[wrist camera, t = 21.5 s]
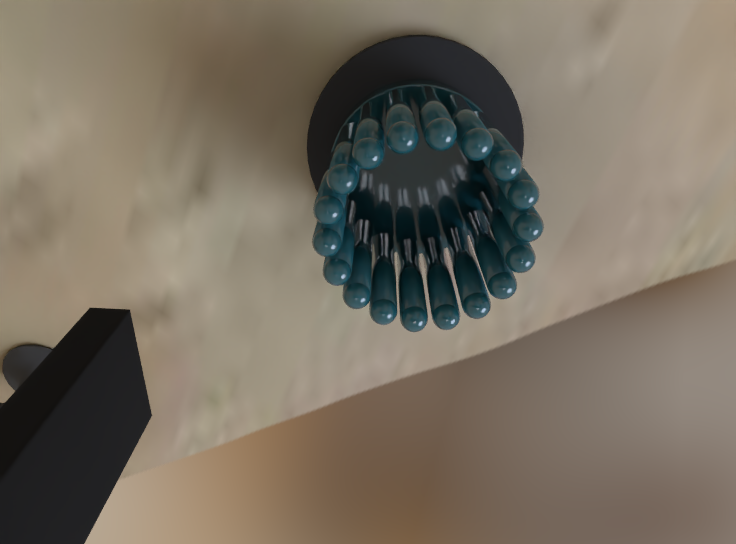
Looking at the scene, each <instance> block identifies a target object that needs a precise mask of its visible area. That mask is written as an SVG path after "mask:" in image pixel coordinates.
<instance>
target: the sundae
mask: <svg viewBox="0 0 736 544" xmlns="http://www.w3.org/2000/svg"><path fill="white" fill-rule="evenodd" d="M51 351H52V349H49V348H46V347H42V346H37V345H24V346H19V347H17V348H14V349H12V350H10V351H9V352H8V354H7V355H6V356H5V358H4V360H3V374H4V376H5V378H6V380H7V382H8V384H9V385H10V386H11V387H12V388H13V389H14V390H15V391H16V390H17V389H18V388H19V387H20V386H21V385H22V384H23V382H24V381H25V380H26V379H27V378H28V377H29V376H30V375H31V373H32V372H33V371H34V370H35V369H36V368H37V367H38V366H39V364H40V363H41V362H42V361H43V360H44V359H45V358H46V357H47V355H48V354H49V353H50V352H51ZM5 403H6V402H5ZM5 403H0V408H1V407H2V406H3V405H4V404H5Z"/></svg>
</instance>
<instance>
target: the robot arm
mask: <svg viewBox="0 0 736 544" xmlns="http://www.w3.org/2000/svg"><path fill="white" fill-rule="evenodd" d="M151 416H152V414H151V409H150V404H149V400H148V395H147V390H146V385H145V380H144V376H143V371H142V366H141V361H140V356H139V352H138V347H137V342H136V337H135V332H134V328H133V323H132V318H131V313H130V310H126V309H105V308H89V310H88V311H87V312H86V313H85V314H84V315H83V316H82V317H81V319H80V320H79V321H78V322H77V323H76V324H75V325H74V326H73V327H72V329H71V330H70V331H69V332H68V333H67V334H66V335H65V336H64V338H63V339H62V340H61V341H60V342H59V343H58V344H57V345H56V347H55V348H54V349H53V350H52V351H51V352H50V353H49V354H48V355H47V357H46V358H45V359H44V360H43V361H42V362H41V363H40V364H39V366H38V367H37V368H36V369H35V370H34V371H33V372H32V373H31V375H30V376H29V377H28V378H27V379H26V380H25V381H24V382H23V384H22V385H21V386H20V387H19V388H18V389H17V390H16V391H15V392H14V394H13V395H12V396H11V397H10V398H9V399H8V400H7V401H6V403H5V404H4V405H3V406H2V407H1V408H0V544H84V543H85V541H86V539H87V537H88V536H89V534H90V532H91V529H92V528H93V526H94V524H95V522H96V520H97V518H98V517H99V515H100V513H101V511H102V509H103V507H104V505H105V503H106V501H107V500H108V498H109V496H110V494H111V492H112V490H113V488H114V486H115V484H116V483H117V481H118V479H119V477H120V475H121V473H122V471H123V469H124V467H125V466H126V464H127V462H128V460H129V458H130V456H131V454H132V452H133V450H134V449H135V447H136V445H137V443H138V441H139V439H140V437H141V435H142V433H143V432H144V430H145V428H146V426H147V424H148V422H149V420H150V418H151Z"/></svg>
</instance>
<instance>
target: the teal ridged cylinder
mask: <svg viewBox="0 0 736 544" xmlns="http://www.w3.org/2000/svg"><path fill="white" fill-rule="evenodd" d="M538 199H539V188H538V186H537V185H536V183H535V182H534V181H533V180H532V178H531V177H530V176H529V175H528V173H527V172H526V171H525V169H524V168H523V167H522V160H521V157H520V156H519V154H518V153H517V152H516V151H515V149H514V148H513V147H512V146H511V145H510V143H509V142H508V141H507V140H506V138H505V137H504V136H503V135H502V134H501V132H500V131H499V130H498V129H497V128H496V126H495V125H494V124H493V123H492V121H491V120H490V119H489V118H488V117H487V115H486V114H485V113H484V112H483V110H482V109H481V108H480V107H479V106H478V105H477V104H476V103H475V102H474V101H473V100H472V99H471V98H470V97H468V96H467V95H466V94H465V93H463V92H461V91H460V90H458V89H456V88H455V87H452V86H450V85H447V84H445V83H442V82H438V81H434V80H426V79H408V80H402V81H397V82H393V83H390V84H387V85H385V86H382V87H380V88H378V89H376V90H374V91H373V92H371V93H370V94H368V95H366V96H365V97H364V98H363V99H362V100H360V101H359V102H358V103H357V104H356V105H355V106H354V107H353V108H352V109H351V110H350V112H349V113H348V114H347V116H346V117H345V119H344V120H343V122H342V124H341V126H340V128H339V130H338V132H337V135H336V137H335V140H334V143H333V146H332V149H331V154H330V156H329V160H328V163H327V166H326V169H325V172H324V175H323V178H322V182H321V185H320V188H319V191H318V194H317V197H316V200H315V204H314V207H313V213H314V216H315V218H316V219H317V225H316V228H315V232H314V235H313V239H312V245H313V248H314V250H315V251H316V252H317V253H318V254H319V255H321V256H324V257H325V261H324V266H323V276H324V278H325V280H326V281H327V282H328V283H330V284H331V285H335V286H339V285H343V284H344V287H343V300H344V302H345V303H346V305H347V306H349V307H350V308H353V309H361V308H363V307H365V306H366V305H367V304H368V303H369V301H370V308H369V312H370V316H371V318H372V320H373V321H374V322H376V323H377V324H380V325H387V324H389V323H391V322H392V321H393V320H394V319H395V317H396V315H397V295H396V273H395V252H397V268H398V287H399V306H400V321H401V324H402V326H403V327H404V328H405V329H406V330H408V331H410V332H418V331H420V330H422V329H423V328H424V327H425V326H426V324H427V322H428V314H427V307H426V300H425V293H424V285H423V278H422V271H421V264H420V256H419V254H421V253H423V260H424V267H425V273H426V280H427V286H428V293H429V300H430V306H431V313H432V319H433V322H434V324H435V325H436V326H437V327H438V328H440V329H443V330H450V329H452V328H454V327H455V326H456V325H457V324H458V323H459V320H460V312H459V308H458V304H457V299H456V295H455V291H454V287H453V283H452V278H451V274H450V270H449V266H448V262H447V257H446V253H445V249H444V248H446V247H447V248H448V252H449V256H450V260H451V264H452V268H453V272H454V276H455V280H456V284H457V288H458V292H459V296H460V300H461V304H462V308H463V310H464V312H465V314H466V315H467V316H469V317H471V318H474V319H480V318H483V317H484V316H486V315H487V314H488V312H489V311H490V308H491V302H490V299H489V296H488V293H487V290H486V287H485V284H484V281H483V278H482V275H481V273H480V270H479V267H478V264H477V261H476V258H475V255H474V252H473V249H472V246H471V244H470V241H469V238H468V235H469V236H470V239H471V242H472V245H473V248H474V251H475V253H476V256H477V259H478V262H479V265H480V268H481V271H482V273H483V276H484V279H485V282H486V285H487V288H488V290H489V292H490V294H491V295H492V296H494V297H495V298H498V299H507V298H509V297H511V296H512V295H513V294H514V293H515V291H516V289H517V282H516V279H515V276H514V274H513V272H512V271H514V272H517V273H523V272H527V271H528V270H530V269H531V268H532V267H533V265H534V263H535V259H536V257H535V253H534V251H533V249H532V247H531V245H530V244H529V242H532V241H534V240H536V239H538V238H539V237H540V236H541V234H542V232H543V229H544V224H543V221H542V219H541V217H540V216H539V214H538V213H537V211H536V210H535V208H534V207H533V206H534V205H535V204H536V203H537V201H538Z"/></svg>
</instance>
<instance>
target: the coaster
mask: <svg viewBox="0 0 736 544" xmlns="http://www.w3.org/2000/svg"><path fill="white" fill-rule="evenodd" d="M408 79H426V80H434V81H438V82H442V83H445V84H447V85H450V86H452V87H455V88H456V89H458V90H460V91H461V92H463V93H465V94H466V95H467V96H468V97H470V98H471V99H472V100H473V101H474V102H475V103H476V104H477V105H478V106H479V107H480V108H481V109H482V110H483V112H484V113H485V114H486V115H487V117H488V118H489V119H490V120H491V121H492V123H493V124H494V125H495V126H496V128H497V129H498V130H499V131H500V132H501V134H502V135H503V136H504V137H505V138H506V140H507V141H508V142H509V143H510V145H511V146H512V147H513V148H514V149H515V151H516V152H517V153H518V154H519V156H520V157H521V160H522V155H523V146H524V133H523V124H522V118H521V114H520V110H519V107H518V104H517V101H516V99H515V97H514V94H513V92H512V90H511V88H510V87H509V85H508V84H507V82H506V81H505V79H504V77H503V76H502V75H501V74H500V73H499V72H498V70H497V69H496V68H495V67H494V66H493V65H492V64H491V63H490V62H488V61H487V60H486V59H485V58H484V57H483V56H481V55H480V54H478V53H477V52H475V51H473V50H472V49H470V48H469V47H467V46H464V45H462V44H460V43H457V42H455V41H452V40H449V39H445V38H441V37H436V36H428V35H408V36H402V37H396V38H391V39H388V40H385V41H382V42H379V43H377V44H374V45H372V46H370V47H368V48H366V49H364V50H363V51H361V52H360V53H358V54H357V55H355V56H353V57H352V58H351V59H350V60H349V61H347V62H346V63H345V64H344V65H343V66H342V67H341V68H340V69H339V70H338V71H337V72H336V73H335V74H334V75H333V77H332V78H331V79H330V80H329V82H328V84H327V85H326V87H325V88H324V90H323V91H322V93H321V95H320V97H319V99H318V101H317V103H316V105H315V108H314V111H313V114H312V117H311V120H310V125H309V130H308V139H307V154H308V164H309V169H310V173H311V177H312V180H313V182H314V185H315V188H316V190H317V192H318V191H319V188H320V185H321V182H322V178H323V175H324V172H325V169H326V166H327V163H328V160H329V156H330V154H331V149H332V146H333V143H334V140H335V137H336V135H337V132H338V130H339V128H340V126H341V124H342V122H343V120H344V119H345V117H346V116H347V114H348V113H349V112H350V110H351V109H352V108H353V107H354V106H355V105H356V104H357V103H358V102H359V101H360V100H362V99H363V98H364V97H365V96H366V95H368V94H370V93H371V92H373V91H374V90H376V89H378V88H380V87H382V86H385V85H387V84H390V83H393V82H397V81H402V80H408Z"/></svg>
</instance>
